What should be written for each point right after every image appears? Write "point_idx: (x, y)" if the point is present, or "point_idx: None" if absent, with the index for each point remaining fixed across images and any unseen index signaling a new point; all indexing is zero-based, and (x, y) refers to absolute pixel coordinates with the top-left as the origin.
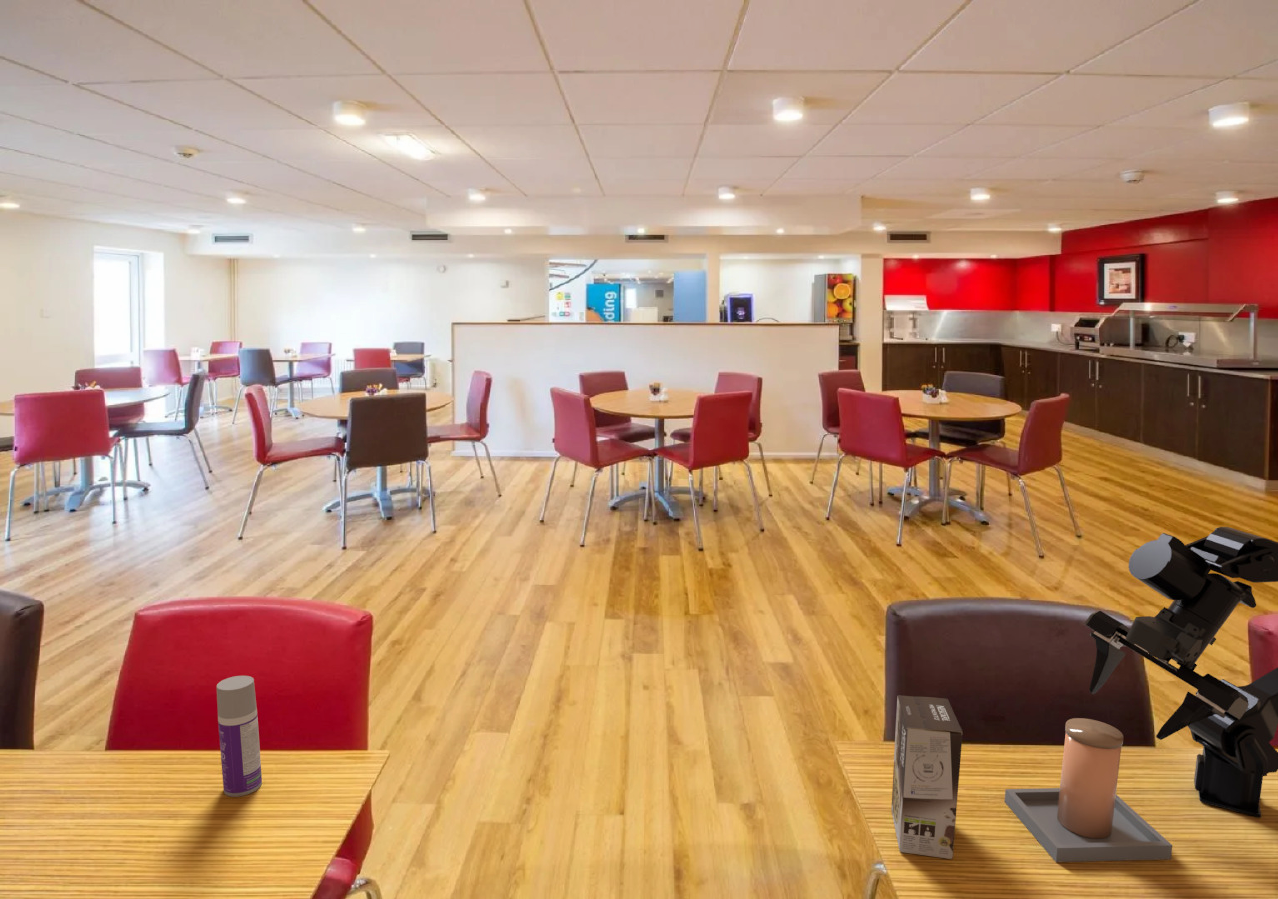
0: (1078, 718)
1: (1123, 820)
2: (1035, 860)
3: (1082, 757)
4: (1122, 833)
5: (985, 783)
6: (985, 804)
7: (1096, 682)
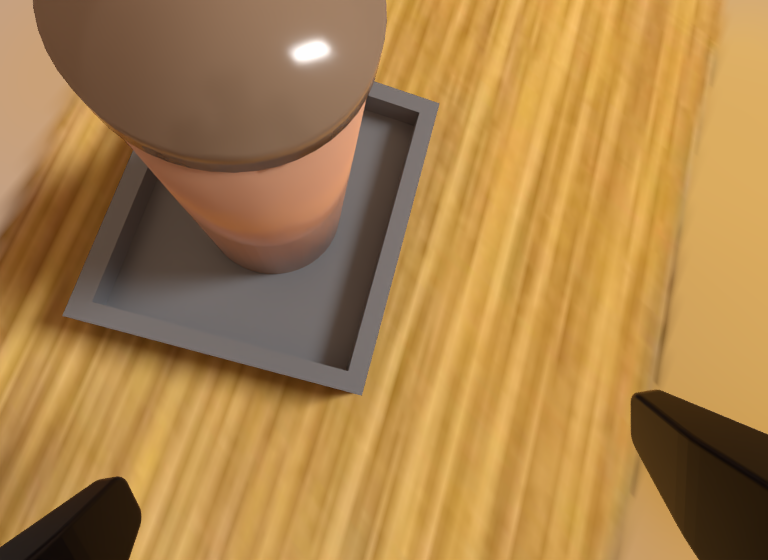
0: (378, 44)
1: (247, 329)
2: None
3: None
4: (203, 272)
5: (509, 142)
6: (434, 75)
7: (699, 435)
